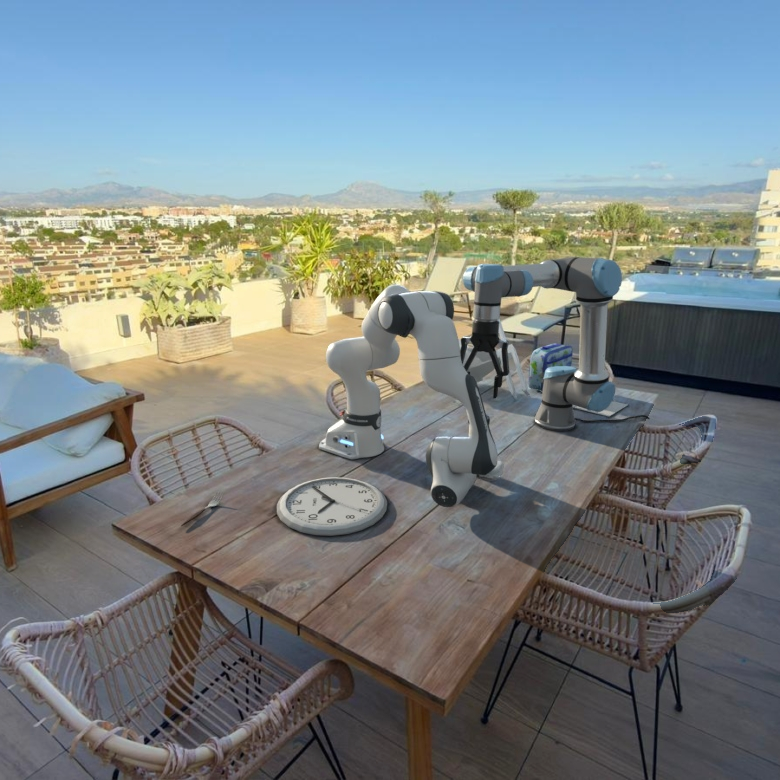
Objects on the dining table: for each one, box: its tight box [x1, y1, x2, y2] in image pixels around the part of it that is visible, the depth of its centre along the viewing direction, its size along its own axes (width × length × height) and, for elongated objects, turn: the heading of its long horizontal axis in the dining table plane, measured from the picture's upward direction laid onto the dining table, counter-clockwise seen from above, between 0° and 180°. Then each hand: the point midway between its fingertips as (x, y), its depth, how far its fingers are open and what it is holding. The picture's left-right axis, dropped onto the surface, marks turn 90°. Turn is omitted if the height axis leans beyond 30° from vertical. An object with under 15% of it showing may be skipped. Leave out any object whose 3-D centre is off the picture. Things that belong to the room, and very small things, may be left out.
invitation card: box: [573, 400, 629, 418], centre depth 226 cm, size 21×1×15 cm
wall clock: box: [276, 476, 388, 537], centre depth 142 cm, size 30×2×30 cm
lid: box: [467, 414, 491, 425], centre depth 159 cm, size 6×6×2 cm
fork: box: [180, 491, 225, 527], centre depth 138 cm, size 3×16×2 cm, turn 160°
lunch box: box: [528, 343, 574, 392], centre depth 249 cm, size 26×11×21 cm, turn 134°
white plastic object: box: [458, 318, 531, 400], centre depth 245 cm, size 37×45×31 cm
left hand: (475, 454), depth 161 cm, fingers open, 8 cm apart
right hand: (480, 395), depth 156 cm, fingers open, 8 cm apart
